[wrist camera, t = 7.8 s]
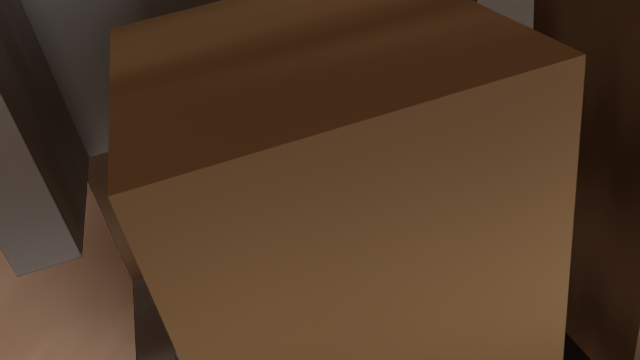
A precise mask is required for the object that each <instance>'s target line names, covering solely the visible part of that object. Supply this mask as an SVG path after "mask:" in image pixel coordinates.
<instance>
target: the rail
mask: <svg viewBox="0 0 640 360" xmlns="http://www.w3.org/2000/svg"><path fill="white" fill-rule="evenodd" d="M585 63H586V54H584V53H582V52H580V51H578V50H576V49H574V48H572V47H569V46H567V45H565V44H563V43H561V42H559V41H557V40H555V39H553V38H550V37H548V36H546V35H544V34H542V33H540V32H538V31H536V30H534V29H531V28H529V27H527V26H525V25H523V24H521V23H519V22H517V21H514V20H512V19H510V18H508V17H506V16H504V15H502V14H500V13H498V12H495V11H493V10H491V9H489V8H487V7H485V6H483V5H481V4H478V3H476V2H474V1H472V0H221V1H217V2H213V3H209V4H205V5H201V6H197V7H194V8H190V9H186V10H182V11H178V12H174V13H170V14H166V15H162V16H158V17H154V18H150V19H146V20H142V21H138V22H135V23H131V24H127V25H123V26H119V27H115V28H111V29H110V73H109V140H108V199H109V201H110V203H111V205H112V208H113V210H114V212H115V214H116V217H117V219H118V221H119V224H120V226H121V228H122V230H123V233H124V235H125V237H126V239H127V242H128V244H129V246H130V248H131V251H132V253H133V255H134V257H135V260H136V262H137V264H138V267H139V269H140V271H141V273H142V276H143V278H144V280H145V282H146V285H147V287H148V289H149V291H150V294H151V296H152V298H153V300H154V303H155V305H156V307H157V310H158V312H159V314H160V316H161V319H162V321H163V323H164V325H165V328H166V330H167V332H168V334H169V337H170V339H171V341H172V343H173V346H174V348H175V350H176V353H177V355H178V357H179V359H180V360H563V354H564V341H565V327H566V314H567V301H568V288H569V275H570V261H571V248H572V235H573V222H574V208H575V195H576V182H577V169H578V155H579V142H580V129H581V116H582V102H583V89H584V76H585Z"/></svg>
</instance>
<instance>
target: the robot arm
mask: <svg viewBox="0 0 640 360" xmlns="http://www.w3.org/2000/svg"><path fill="white" fill-rule="evenodd" d="M563 360H591V359H590V358H589V357H588V356H587V355H586V354H585V353H584V351H583V350H582V349H581V348H580V347H579V346H578V345H577V344H576V343H575V341H574V340H573V339H572V338H571V337H570V336H569V335H568V334H567V333H566V332H565V341H564V354H563Z"/></svg>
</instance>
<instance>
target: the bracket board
mask: <svg viewBox="0 0 640 360" xmlns="http://www.w3.org/2000/svg"><path fill="white" fill-rule="evenodd" d="M217 1H221V0H0V248H1V250H2V252H3V253H4V255H5V257H6V259H7V260H8V262H9V264H10V265H11V267H12V269H13V270H14V272H15V274H16V276H17V277H19V276H22V275H25V274H28V273H32V272H35V271H38V270H41V269H45V268H48V267H51V266H54V265H58V264H61V263H64V262H67V261H71V260H74V259H77V258H80V257H82V248H83V234H84V220H85V207H86V193H87V180H88V183H89V185H90V187H91V189H92V192H93V194H94V196H95V198H96V200H97V203H98V205H99V207H100V209H101V211H102V214H103V216H104V218H105V220H106V223H107V225H108V227H109V229H110V231H111V234H112V236H113V238H114V240H115V242H116V245H117V247H118V249H119V251H120V254H121V256H122V258H123V260H124V262H125V265H126V267H127V269H128V271H129V274H130V276H131V278H132V280H133V298H134V321H135V343H136V360H180V359H179V357H178V355H177V353H176V350H175V348H174V346H173V343H172V341H171V339H170V337H169V334H168V332H167V330H166V328H165V325H164V323H163V321H162V319H161V316H160V314H159V312H158V310H157V307H156V305H155V303H154V300H153V298H152V296H151V294H150V291H149V289H148V287H147V285H146V282H145V280H144V278H143V276H142V273H141V271H140V269H139V267H138V264H137V262H136V260H135V257H134V255H133V253H132V251H131V248H130V246H129V244H128V242H127V239H126V237H125V235H124V233H123V230H122V228H121V226H120V224H119V221H118V219H117V217H116V214H115V212H114V210H113V208H112V205H111V203H110V201H109V199H108V140H109V73H110V29H111V28H115V27H119V26H123V25H127V24H131V23H135V22H138V21H142V20H146V19H150V18H154V17H158V16H162V15H166V14H170V13H174V12H178V11H182V10H186V9H190V8H194V7H197V6H201V5H205V4H209V3H213V2H217ZM472 1H474V2H476V3H478V4H481V5H483V6H485V7H487V8H489V9H491V10H493V11H495V12H498V13H500V14H502V15H504V16H506V17H508V18H510V19H512V20H514V21H517V22H519V23H521V24H523V25H525V26H527V27H529V28H531V29H534V30H536V31H538V32H540V33H542V34H544V35H546V36H548V37H550V38H553V39H555V40H557V41H559V42H561V43H563V44H565V45H567V46H569V47H572V48H574V49H576V50H578V51H580V52H582V53H584V54H586V63H585V76H584V89H583V102H582V116H581V129H580V142H579V155H578V169H577V182H576V195H575V208H574V222H573V235H572V248H571V261H570V275H569V288H568V301H567V314H566V327H565V332H566V333H567V334H568V335H569V336H570V337H571V338H572V339H573V340H574V341H575V343H576V344H577V345H578V346H579V347H580V348H581V349H582V350H583V351H584V353H585V354H586V355H587V356H588V357H589V358H590V359H591V360H640V0H472Z"/></svg>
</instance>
